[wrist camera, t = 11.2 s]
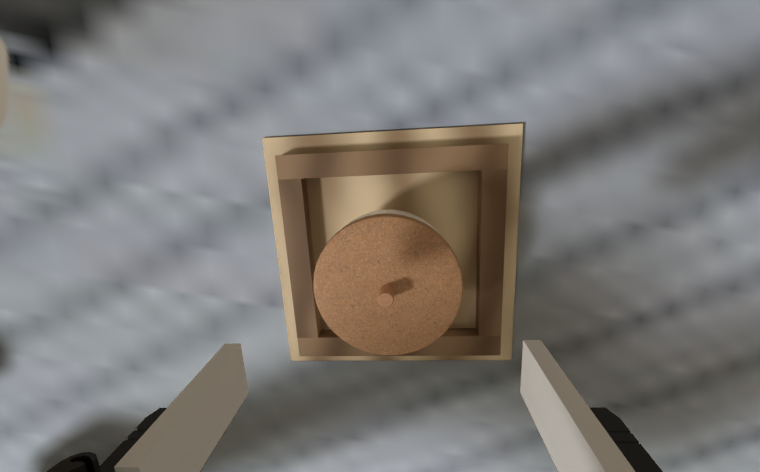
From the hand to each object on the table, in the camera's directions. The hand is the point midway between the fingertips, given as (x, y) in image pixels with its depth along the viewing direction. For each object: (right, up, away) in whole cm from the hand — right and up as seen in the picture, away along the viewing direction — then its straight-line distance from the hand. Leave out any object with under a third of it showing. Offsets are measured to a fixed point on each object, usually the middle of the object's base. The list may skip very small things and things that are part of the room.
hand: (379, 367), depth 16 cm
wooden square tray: (+1, +4, +16) cm, 17 cm away
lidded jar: (+1, +4, +16) cm, 17 cm away
